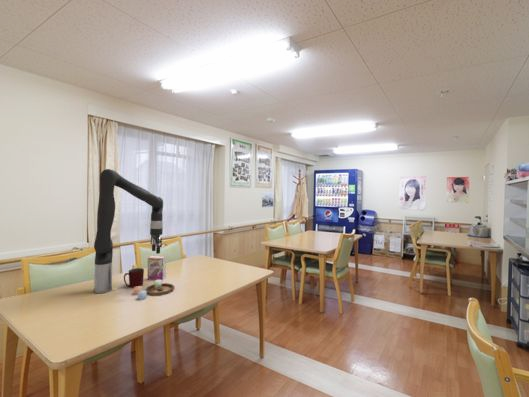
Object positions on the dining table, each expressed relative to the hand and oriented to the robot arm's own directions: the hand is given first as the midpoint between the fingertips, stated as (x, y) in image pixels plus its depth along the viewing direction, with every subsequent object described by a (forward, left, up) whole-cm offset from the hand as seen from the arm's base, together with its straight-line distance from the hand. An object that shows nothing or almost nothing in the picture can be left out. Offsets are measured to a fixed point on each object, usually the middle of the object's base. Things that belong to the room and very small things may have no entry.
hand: (155, 252), depth 173 cm
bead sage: (-1, -8, -21) cm, 23 cm away
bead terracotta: (-13, -10, -22) cm, 28 cm away
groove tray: (-1, -13, -22) cm, 26 cm away
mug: (-12, +5, -23) cm, 26 cm away
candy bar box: (+4, +11, -23) cm, 26 cm away
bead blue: (-13, -19, -22) cm, 32 cm away
